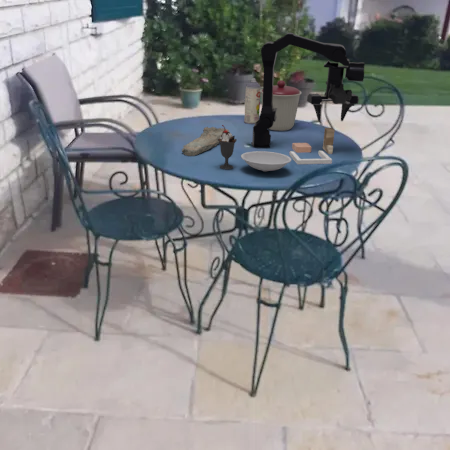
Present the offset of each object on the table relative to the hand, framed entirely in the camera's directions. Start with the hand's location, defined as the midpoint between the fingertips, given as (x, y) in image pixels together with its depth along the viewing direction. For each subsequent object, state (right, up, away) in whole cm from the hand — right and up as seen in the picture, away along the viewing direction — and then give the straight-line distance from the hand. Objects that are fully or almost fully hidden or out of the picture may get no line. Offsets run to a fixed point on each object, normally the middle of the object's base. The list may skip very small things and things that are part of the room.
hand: (330, 121), depth 214 cm
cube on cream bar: (0, -11, +4) cm, 12 cm away
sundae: (-40, -20, -17) cm, 48 cm away
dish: (-27, -21, -20) cm, 39 cm away
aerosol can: (-28, +7, +44) cm, 53 cm away
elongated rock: (-48, -8, +9) cm, 49 cm away
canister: (-17, +3, +35) cm, 39 cm away
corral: (-9, -15, -5) cm, 18 cm away
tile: (-11, -11, +5) cm, 16 cm away
